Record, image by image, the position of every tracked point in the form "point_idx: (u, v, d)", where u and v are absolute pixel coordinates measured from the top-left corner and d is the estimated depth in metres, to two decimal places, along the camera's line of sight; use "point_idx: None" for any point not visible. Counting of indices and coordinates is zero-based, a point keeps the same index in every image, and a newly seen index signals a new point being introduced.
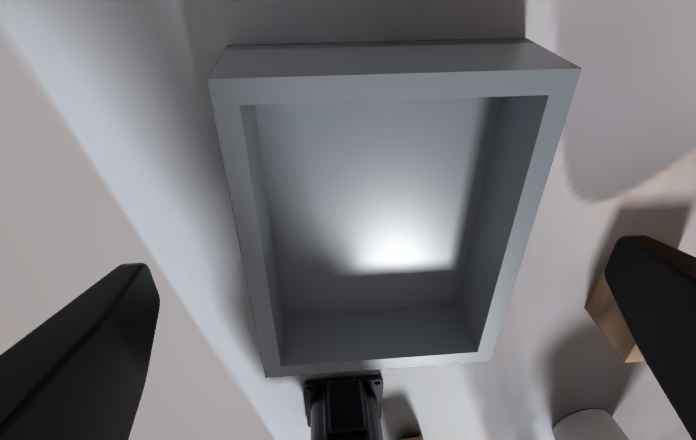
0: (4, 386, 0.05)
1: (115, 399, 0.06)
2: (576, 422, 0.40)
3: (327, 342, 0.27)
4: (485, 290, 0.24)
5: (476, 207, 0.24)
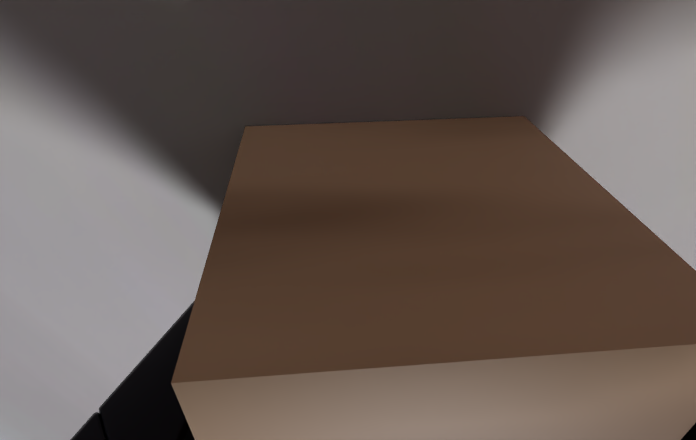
0: None
1: None
2: None
3: None
4: None
5: None
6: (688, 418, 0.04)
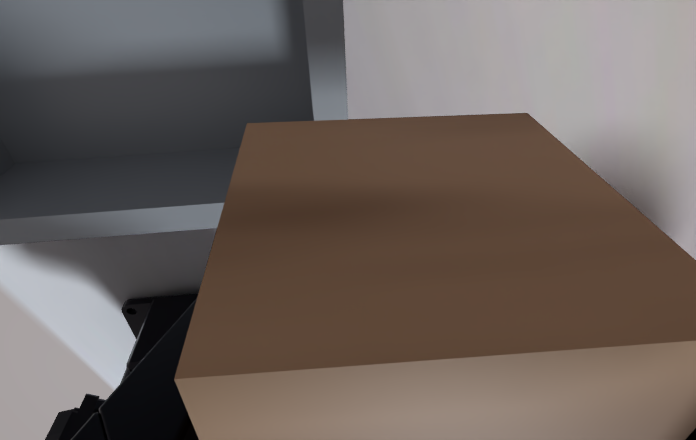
0: (174, 374, 0.05)
1: None
2: None
3: (58, 191, 0.15)
4: None
5: None
6: None
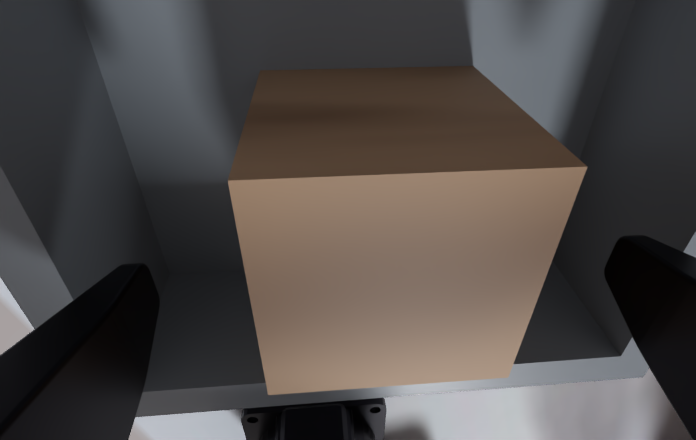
0: (4, 386, 0.05)
1: (115, 399, 0.06)
2: None
3: (255, 333, 0.11)
4: (672, 187, 0.09)
5: None
6: (553, 236, 0.07)
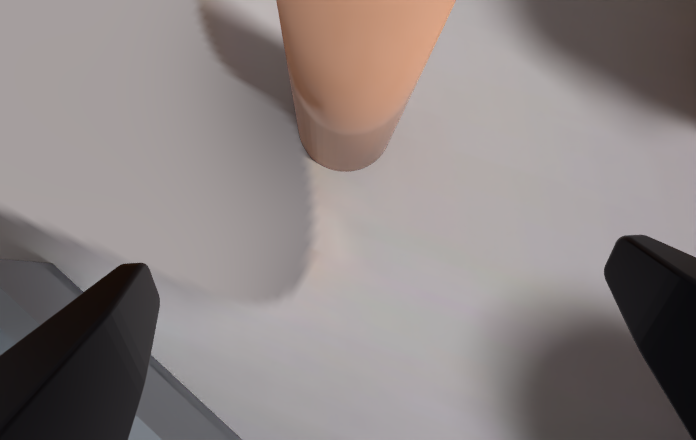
0: (4, 386, 0.05)
1: (115, 399, 0.06)
2: None
3: None
4: None
5: None
6: None
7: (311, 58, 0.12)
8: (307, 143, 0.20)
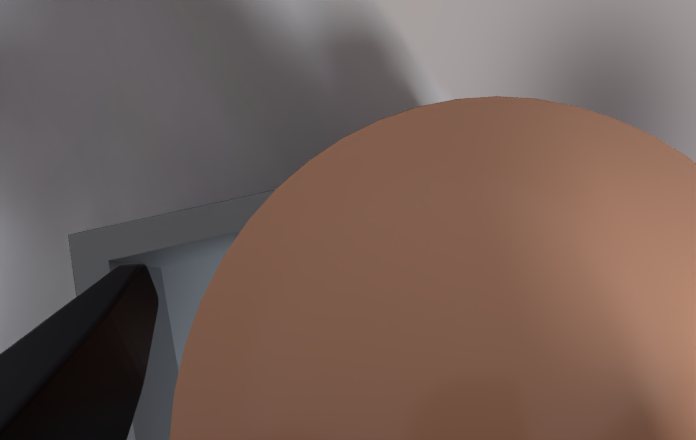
0: (3, 386, 0.05)
1: (114, 399, 0.06)
2: None
3: None
4: None
5: None
6: None
7: None
8: None
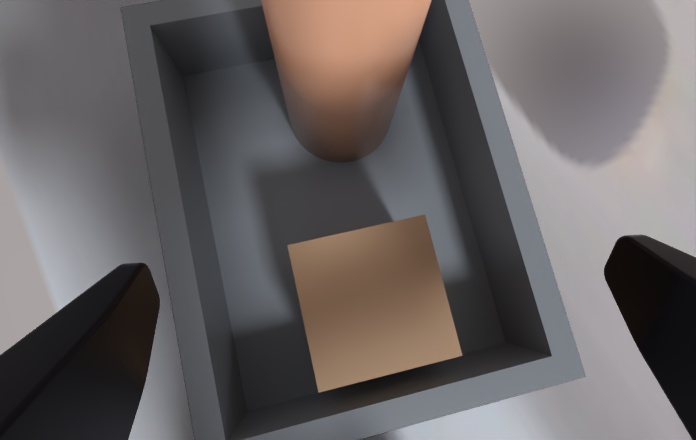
0: (4, 386, 0.05)
1: (115, 399, 0.06)
2: None
3: (309, 409, 0.16)
4: (507, 244, 0.17)
5: (455, 179, 0.21)
6: (430, 248, 0.15)
7: (285, 0, 0.10)
8: (297, 129, 0.19)
